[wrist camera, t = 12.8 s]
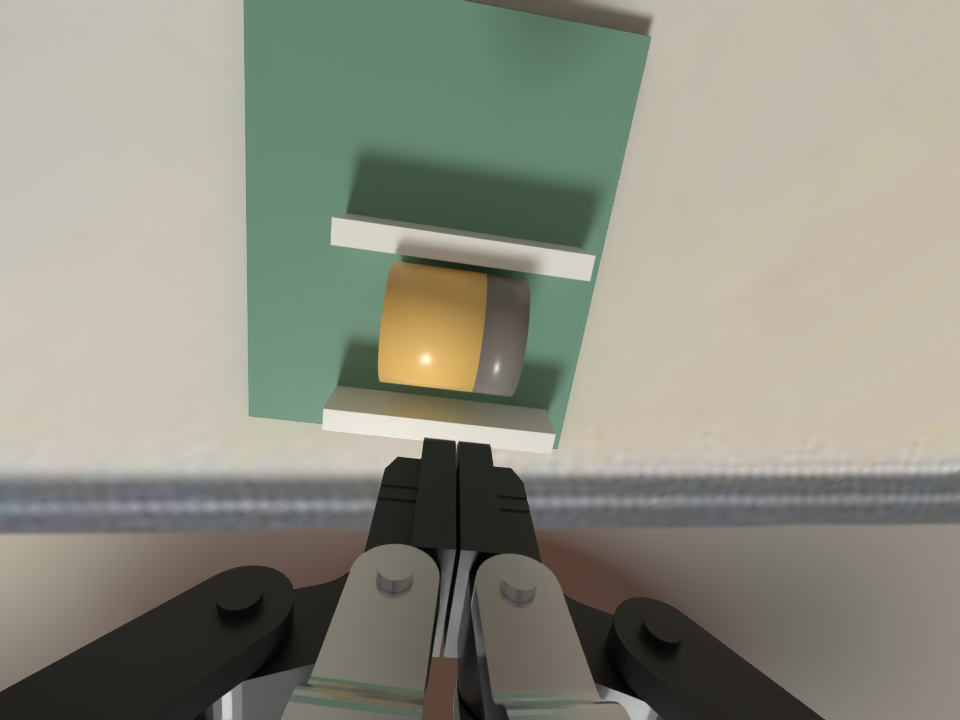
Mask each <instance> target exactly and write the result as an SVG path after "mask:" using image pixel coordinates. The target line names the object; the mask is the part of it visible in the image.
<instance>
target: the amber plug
mask: <svg viewBox="0 0 960 720" xmlns="http://www.w3.org/2000/svg"><path fill="white" fill-rule="evenodd" d="M529 317H530V290H529V284H528V281H527V279H523V278H516V277H509V276H502V275H494V274H487V273H480V272H472V271H465V270H458V269H451V268H443V267H436V266H429V265H421V264H414V263H407V262H400V261H393V263H392V265H391V268H390V272H389V276H388V280H387V285H386V291H385V297H384V303H383V310H382V318H381V327H380V338H379V353H378V375H379V381H380V382H386V383H395V384H404V385H412V386H421V387H430V388H439V389H447V390H456V391H465V392H474V393H483V394H491V395H500V396H509V397H511V396H512V395H513V394H514V392H515V390H516V388H517V385H518V382H519V379H520V375H521V371H522V367H523V362H524V357H525V351H526V345H527V338H528V329H529Z"/></svg>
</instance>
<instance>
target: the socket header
mask: <svg viewBox="0 0 960 720" xmlns="http://www.w3.org/2000/svg"><path fill="white" fill-rule="evenodd" d="M331 245H336V246H343V247H350V248H357V249H364V250H371V251H379V252H386V253H393V254H400V255H407V256H414V257H421V258H428V259H435V260H442V261H449V262H456V263H463V264H471V265H478V266H485V267H492V268H499V269H506V270H513V271H520V272H527V273H534V274H541V275H548V276H555V277H563V278H570V279H577V280H584V281H590V279H591V275H592V270H593V266H594V261H595V257H596V256H595V255H593V254H591V253H589V252H587V251H586V250H584V249H582V248H579V247H572V246H565V245H559V244H552V243H545V242H538V241H532V240H525V239H518V238H511V237H504V236H498V235H491V234H484V233H477V232H471V231H464V230H457V229H450V228H444V227H437V226H430V225H423V224H416V223H410V222H403V221H396V220H389V219H383V218H376V217H369V216H362V215H356V214H349V213H345V214H341V215H337V216H334V217H332V222H331ZM322 430H328V431H337V432H347V433H356V434H366V435H375V436H385V437H394V438H403V439H413V440H422V441H424V437H426V438H435V439H444V440H454V441H456V444H458V441H464V442H474V443H483V444H490V446H491V448H498V449H507V450H517V451H526V452H536V453H545V454H551V453H552V449H553V444H554V440H555V435H556V434H555V431H554V429H553V426H552V424H551V421H550V419H549V416H548V414H547V411H546V409H538V408H529V407H520V406H511V405H503V404H494V403H485V402H477V401H468V400H459V399H450V398H442V397H433V396H424V395H415V394H407V393H398V392H389V391H381V390H372V389H363V388H354V387H346V386H336V388H335V390H334V391H333V393H332V395H331V396H330V398H329V400H328V402H327V403H326V405H325V407H324V408H323V426H322Z"/></svg>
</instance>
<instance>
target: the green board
mask: <svg viewBox="0 0 960 720" xmlns="http://www.w3.org/2000/svg"><path fill="white" fill-rule="evenodd" d="M650 40H651V36H646V35H641V34H636V33H630V32H625V31H620V30H615V29H610V28H604V27H599V26H594V25H589V24H584V23H578V22H573V21H568V20H563V19H558V18H553V17H547V16H542V15H537V14H532V13H527V12H521V11H516V10H511V9H506V8H501V7H495V6H490V5H485V4H480V3H475V2H469V1H464V0H244V57H245V138H246V220H247V301H248V382H249V416H252V417H261V418H270V419H280V420H289V421H298V422H308V423H317V424H323V408H324V407H325V405H326V403H327V402H328V400H329V398H330V396H331V395H332V393H333V391H334V390H335V388H336V386H346V387H354V388H363V389H372V390H381V391H389V392H398V393H407V394H415V395H424V396H433V397H442V398H450V399H459V400H468V401H477V402H485V403H494V404H503V405H511V406H520V407H529V408H538V409H546V411H547V414H548V416H549V419H550V421H551V424H552V426H553V429H554V431H555V434H556V435H555V440H554V444H553V449H557V448H558V444H559V439H560V435H561V430H562V426H563V422H564V417H565V413H566V408H567V404H568V400H569V395H570V391H571V387H572V382H573V378H574V373H575V369H576V365H577V360H578V356H579V351H580V347H581V343H582V338H583V334H584V330H585V325H586V321H587V316H588V312H589V308H590V303H591V299H592V294H593V290H594V286H595V281H596V277H597V272H598V268H599V264H600V259H601V255H602V251H603V246H604V242H605V237H606V233H607V229H608V224H609V220H610V215H611V211H612V207H613V202H614V198H615V194H616V189H617V185H618V180H619V176H620V172H621V167H622V163H623V158H624V154H625V150H626V145H627V141H628V137H629V132H630V128H631V123H632V119H633V115H634V110H635V106H636V101H637V97H638V93H639V88H640V84H641V79H642V75H643V71H644V66H645V62H646V58H647V53H648V49H649V44H650ZM345 213H349V214H356V215H362V216H369V217H376V218H383V219H389V220H396V221H403V222H410V223H416V224H423V225H430V226H437V227H444V228H450V229H457V230H464V231H471V232H477V233H484V234H491V235H498V236H504V237H511V238H518V239H525V240H532V241H538V242H545V243H552V244H559V245H565V246H572V247H579V248H582V249H584V250H586V251H587V252H589V253H591V254H593V255H595V256H596V257H595V261H594V266H593V270H592V275H591V279H590V281H584V280H577V279H570V278H563V277H555V276H548V275H541V274H534V273H527V272H520V271H513V270H506V269H499V268H492V267H485V266H478V265H471V264H463V263H456V262H449V261H442V260H435V259H428V258H421V257H414V256H407V255H400V254H393V253H386V252H379V251H371V250H364V249H357V248H350V247H343V246H336V245H331V222H332V217H334V216H337V215H341V214H345ZM393 261H400V262H407V263H414V264H421V265H429V266H436V267H443V268H451V269H458V270H465V271H472V272H480V273H487V274H494V275H502V276H509V277H516V278H523V279H527V281H528V284H529V290H530V317H529V329H528V338H527V345H526V351H525V357H524V362H523V367H522V371H521V375H520V379H519V382H518V385H517V388H516V390H515V392H514V394H513V395H512V396H511V397H509V396H500V395H491V394H483V393H474V392H465V391H456V390H447V389H439V388H430V387H421V386H412V385H404V384H395V383H386V382H380V381H379V375H378V353H379V338H380V327H381V318H382V310H383V303H384V297H385V291H386V285H387V280H388V276H389V272H390V268H391V265H392V263H393Z"/></svg>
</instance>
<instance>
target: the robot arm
mask: <svg viewBox="0 0 960 720" xmlns="http://www.w3.org/2000/svg"><path fill="white" fill-rule="evenodd" d="M443 628H444V649H443V650H444V652H443V657H452V658H457V684H456V689H455V694H454V700H453V710H454V720H825V719H823V718H822V717H821V716H819V715H818V714H817V713H815V712H814V711H813V710H811V709H810V708H809V707H807V706H806V705H805V704H803V703H802V702H801V701H799V700H798V699H796V698H795V697H794V696H792V695H791V694H790V693H789V692H787V691H786V690H785V689H783V688H782V687H781V686H779V685H778V684H777V683H775V682H774V681H773V680H771V679H770V678H769V677H767V676H766V675H765V674H763V673H762V672H761V671H759V670H758V669H757V668H755V667H754V666H753V665H751V664H750V663H748V662H747V661H746V660H744V659H743V658H742V657H740V656H739V655H738V654H736V653H735V652H734V651H732V650H731V649H730V648H728V647H727V646H726V645H724V644H723V643H722V642H720V641H719V640H718V639H716V638H715V637H714V636H712V635H711V634H710V633H708V632H707V631H706V630H704V629H703V628H702V627H700V626H699V625H698V624H696V623H695V622H694V621H692V620H691V619H690V618H688V617H687V616H686V615H684V614H683V613H681V612H680V611H678V610H677V609H675V608H674V607H672V606H670V605H668V604H666V603H664V602H661V601H658V600H655V599H651V598H642V597H641V598H640V597H638V598H631V599H628V600H625V601H624V602H622V603H621V604H620V605H619V606H618V607H617V609H616V611H615V614H614V615H612V614H609V613H606V612H603V611H601V610H598V609H595V608H592V607H589V606H586V605H584V604H581V603H579V602H577V601H575V600H573V599H571V598H569V597H568V596H566V595H565V594H563V593H562V590H561V587H560V585H559V582H558V580H557V579H556V577H555V576H554V574H553V573H552V572H551V571H550V570H549V569H548V568H547V567H545V566H544V565H543V564H542V562H541V558H540V553H539V549H538V545H537V540H536V536H535V531H534V527H533V523H532V518H531V515H530V510H529V505H528V501H527V497H526V492H525V488H524V483H523V482H522V480H521V479H520V478H519V477H518V476H517V475H516V473H515V472H514V471H513V470H512V469H511V468H503V467H494V466H493V460H492V453H491V446H490V444H483V443H474V442H464V441H458V444H457V450H456V441H454V440H444V439H435V438H426V437H424V442H423V450H422V459H414V458H404V457H397V458H396V459H395V460H394V461H393V462H392V463H391V464H390V465H389V466H387V467H386V468H385V471H384V475H383V479H382V483H381V487H380V491H379V495H378V500H377V503H376V507H375V511H374V515H373V519H372V524H371V528H370V532H369V536H368V540H367V544H366V548H365V551H364V553H363V554H362V555H361V556H360V557H359V558H358V559H357V560H356V561H355V563H354V564H353V566H352V568H351V570H350V572H348V573H347V574H345V575H344V576H342V577H340V578H338V579H336V580H333V581H330V582H328V583H325V584H320V585H315V586H310V587H304V588H299V589H293V586H292V584H291V582H290V580H289V579H288V578H287V577H286V576H285V575H284V574H283V573H281V572H280V571H278V570H275V569H273V568H269V567H265V566H242V567H237V568H233V569H230V570H227V571H224V572H221V573H219V574H217V575H215V576H213V577H211V578H209V579H207V580H206V581H204V582H202V583H200V584H198V585H197V586H194V587H193V588H191V589H189V590H187V591H185V592H184V593H182V594H180V595H178V596H176V597H174V598H172V599H171V600H169V601H167V602H165V603H163V604H161V605H160V606H158V607H156V608H154V609H152V610H150V611H148V612H147V613H145V614H143V615H141V616H139V617H138V618H135V619H134V620H132V621H130V622H128V623H126V624H124V625H123V626H121V627H119V628H117V629H116V630H113V631H112V632H110V633H108V634H106V635H104V636H102V637H100V638H99V639H97V640H95V641H93V642H91V643H90V644H88V645H86V646H84V647H82V648H80V649H78V650H77V651H75V652H73V653H71V654H69V655H67V656H65V657H64V658H62V659H60V660H58V661H57V662H54V663H53V664H51V665H49V666H47V667H45V668H43V669H41V670H40V671H38V672H36V673H34V674H32V675H30V676H29V677H27V678H25V679H23V680H21V681H20V682H18V683H16V684H14V685H12V686H10V687H8V688H6V689H5V690H3V691H1V692H0V720H421V716H422V708H423V697H424V694H425V692H426V689H427V686H428V680H429V673H430V667H431V660H432V657H439V652H440V646H441V640H442V634H443Z"/></svg>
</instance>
